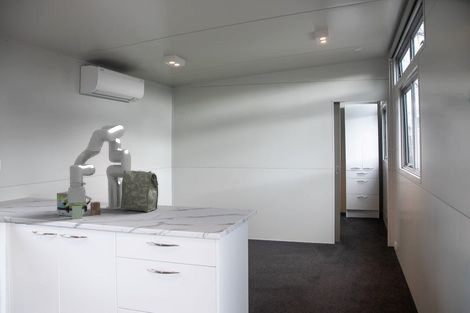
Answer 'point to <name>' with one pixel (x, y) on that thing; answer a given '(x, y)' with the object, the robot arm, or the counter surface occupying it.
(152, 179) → the bag
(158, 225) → the counter surface
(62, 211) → the tea box
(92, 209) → the walnut block
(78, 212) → the green block
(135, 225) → the counter surface
